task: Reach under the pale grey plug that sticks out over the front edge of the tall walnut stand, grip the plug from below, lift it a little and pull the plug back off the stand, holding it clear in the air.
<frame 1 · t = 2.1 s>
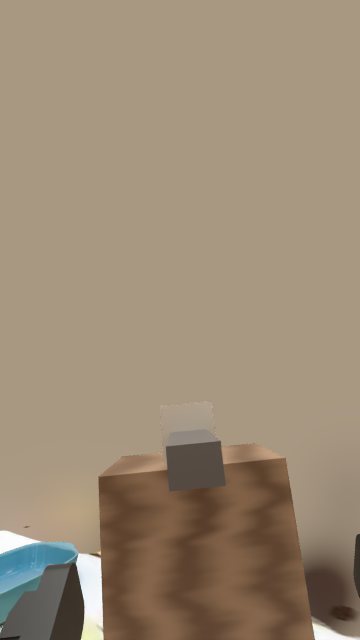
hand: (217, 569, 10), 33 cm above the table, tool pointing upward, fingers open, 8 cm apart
plug: (190, 459, 37), point 32 cm above the table, touching stand
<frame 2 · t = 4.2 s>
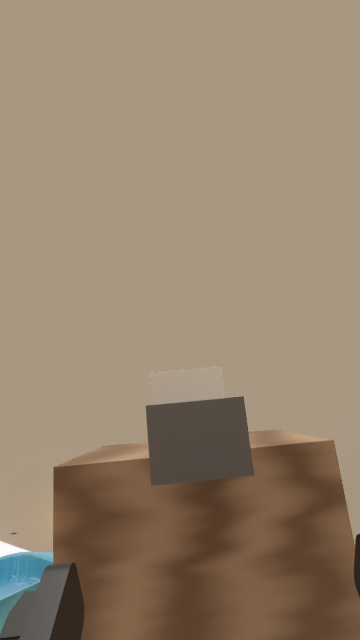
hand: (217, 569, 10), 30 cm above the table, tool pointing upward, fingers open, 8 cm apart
plug: (192, 446, 27), point 32 cm above the table, touching stand
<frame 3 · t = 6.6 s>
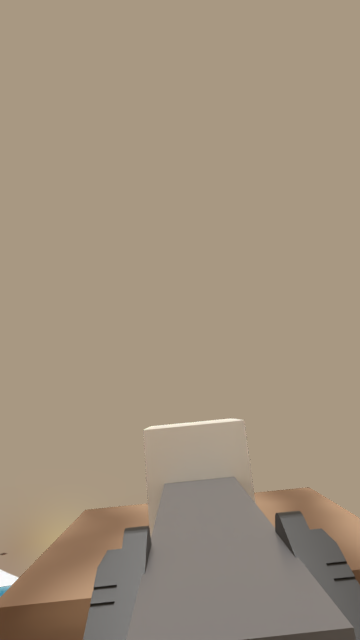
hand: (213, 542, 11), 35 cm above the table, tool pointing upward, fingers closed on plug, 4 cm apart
plug: (205, 539, 19), point 32 cm above the table, touching gripper, stand
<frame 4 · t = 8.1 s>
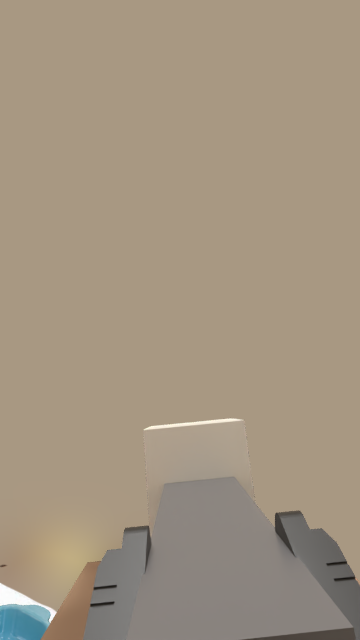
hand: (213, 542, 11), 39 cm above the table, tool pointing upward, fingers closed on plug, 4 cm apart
plug: (205, 539, 19), point 36 cm above the table, touching gripper
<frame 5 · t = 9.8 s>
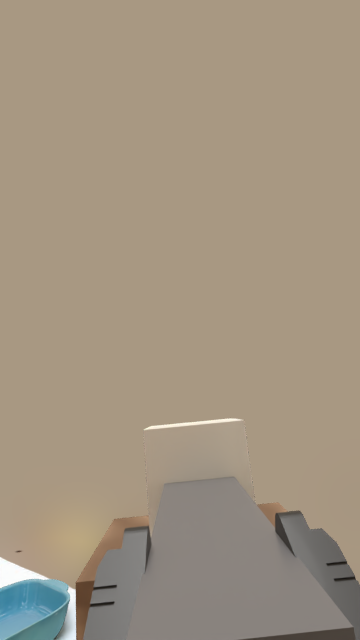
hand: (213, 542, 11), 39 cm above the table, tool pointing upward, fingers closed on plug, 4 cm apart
plug: (205, 539, 19), point 36 cm above the table, touching gripper
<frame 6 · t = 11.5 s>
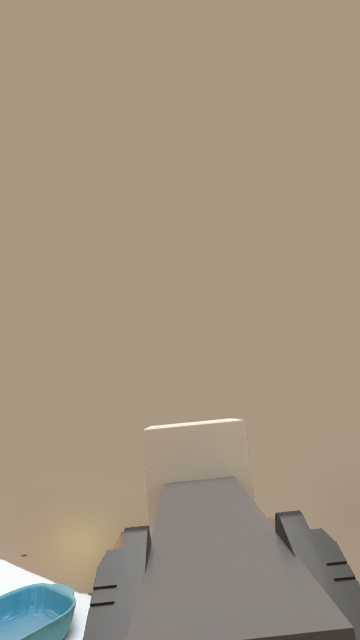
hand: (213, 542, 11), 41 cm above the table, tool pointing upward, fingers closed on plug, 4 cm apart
plug: (205, 539, 19), point 38 cm above the table, touching gripper
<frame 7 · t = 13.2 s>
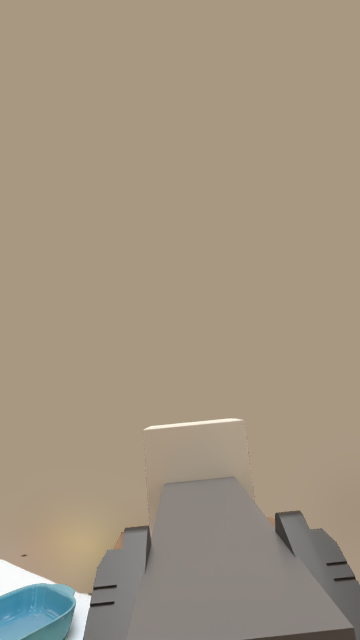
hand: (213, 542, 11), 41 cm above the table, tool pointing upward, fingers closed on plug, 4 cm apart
plug: (205, 539, 19), point 38 cm above the table, touching gripper
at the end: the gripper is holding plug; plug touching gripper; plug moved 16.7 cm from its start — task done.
